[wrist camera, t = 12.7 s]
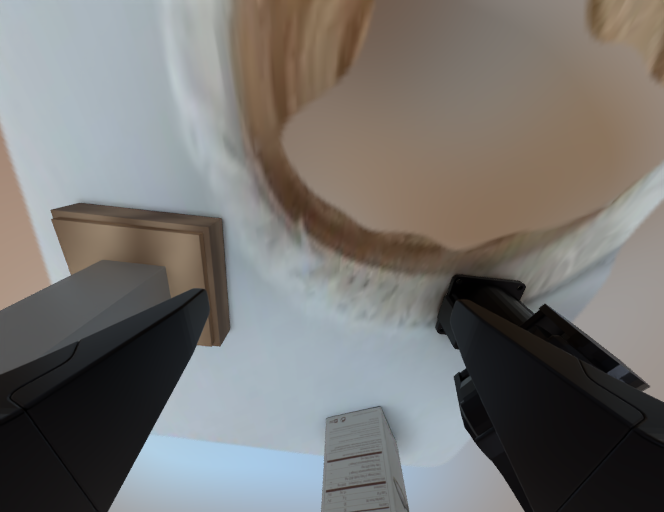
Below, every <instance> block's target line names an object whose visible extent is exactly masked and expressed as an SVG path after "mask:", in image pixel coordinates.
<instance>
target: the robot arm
mask: <svg viewBox="0 0 664 512" xmlns="http://www.w3.org/2000/svg"><path fill="white" fill-rule="evenodd" d="M458 279H460V281H459V282H456V281H457V280H458ZM518 286H520V287H519V288H517V287H518ZM525 288H526V286H525V284H523V283H522V282H520V281H513V280H504V279H495V278H486V277H476V276H467V275H455V276H454V277H453V278H452V280H451V283H450V286H449V289H448V292H447V295H446V296H445V297H444V299H443V302H442V305H441V308H440V311H439V314H438V322H437V324H436V330H437V332H438V333H439V334H445V335H447V336H448V338H449V340H450V342H451V344H452V345H453V347H454V348H455V349H458V350H459V351H460V353H461V356H462V359H463V361H464V364H465V366H466V369H465V370H463V371H462V372H461V373H460V372H458V373H457V374H456V375H455V376H454V380H455V386H456V391H457V396H458V401H459V406H460V411H461V416H462V419H463V423H464V427H465V429H466V430H467V431H468V433H469V434H470V436H471V437H472V439H473V440H474V442H475V443H476V444H477V446H478V447H479V448H480V449H481V451H482V452H483V453H484V454H485V455H486V456H487V457H488V458H489V459H490V460H491V461H492V462H493V463H494V465H495V466H496V467H497V469H498V470H499V471H500V473H501V474H502V475H503V477H504V479H505V480H506V482H507V483H508V485H509V486H510V488H511V490H512V491H513V493H514V494H515V496H516V498H517V500H518V501H519V503H520V505H521V506H522V508H523V509H524V511H525V512H664V402H662V401H660V400H658V399H656V398H654V397H652V396H650V395H648V394H646V393H644V392H642V391H644V390H646V389H647V388H649V387H650V386H649V385H648V384H647V383H646V382H645V381H644V380H642V379H641V378H640V377H639V376H638V375H637V374H635V373H634V372H633V371H632V370H631V369H630V368H628V367H627V366H626V365H625V364H624V363H623V362H621V361H620V360H619V359H618V358H616V357H615V356H614V355H613V354H611V353H610V352H609V351H608V350H606V349H605V348H604V347H602V346H601V345H600V344H599V343H597V342H596V341H595V340H593V339H592V338H591V337H589V336H588V335H587V334H585V333H584V332H583V331H581V330H580V329H579V328H578V327H576V326H575V325H574V324H572V323H571V322H569V321H568V320H567V319H565V318H564V317H563V316H561V315H560V314H559V313H557V312H556V311H555V310H553V309H552V308H551V307H549V306H548V305H546V304H544V305H543V306H541V307H540V308H539V309H540V310H539V311H538V312H536V313H535V314H534V313H533V312H532V311H531V310H530V309H528V308H527V307H526V306H525V305H524V304H523V303H522V302H521V301H520V299H521V297H522V295H523V292H524V290H525ZM209 313H210V306H209V300H208V295H207V291H206V290H205V289H201V288H193V289H190V290H188V291H186V292H184V293H181V294H179V295H177V296H175V297H173V298H171V299H168V300H166V301H164V302H162V303H160V304H157V305H155V306H153V307H151V308H149V309H146V310H144V311H142V312H140V313H138V314H135V315H133V316H131V317H129V318H127V319H124V320H122V321H120V322H118V323H116V324H113V325H111V326H109V327H107V328H105V329H103V330H100V331H98V332H96V333H94V334H92V335H89V336H87V337H85V338H83V339H81V340H80V341H76V342H74V343H72V344H69V345H67V346H65V347H63V348H61V349H58V350H56V351H54V352H52V353H49V354H47V355H45V356H43V357H40V358H38V359H36V360H33V361H31V362H29V363H26V364H24V365H21V366H19V367H17V368H14V369H12V370H10V371H7V372H5V373H2V374H0V512H108V510H109V508H110V507H111V505H112V503H113V501H114V499H115V497H116V496H117V494H118V492H119V490H120V488H121V486H122V484H123V483H124V481H125V479H126V477H127V475H128V473H129V471H130V469H131V468H132V466H133V464H134V462H135V460H136V458H137V457H138V455H139V453H140V451H141V449H142V447H143V445H144V444H145V442H146V440H147V438H148V436H149V434H150V432H151V431H152V429H153V427H154V425H155V423H156V421H157V420H158V418H159V416H160V414H161V412H162V410H163V408H164V407H165V405H166V403H167V401H168V399H169V397H170V395H171V394H172V392H173V390H174V388H175V386H176V384H177V382H178V381H179V379H180V377H181V375H182V373H183V371H184V369H185V368H186V366H187V364H188V362H189V360H190V358H191V356H192V354H193V352H194V350H195V348H196V346H197V343H198V341H199V338H200V336H201V333H202V331H203V328H204V326H205V323H206V321H207V318H208V316H209ZM441 328H443V329H441Z"/></svg>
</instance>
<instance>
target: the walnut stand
mask: <svg viewBox="0 0 664 512" xmlns="http://www.w3.org/2000/svg"><path fill="white" fill-rule="evenodd" d="M51 213H52V216H53V219H51V220H52V223H53V226H54V229H55V231H56V234H57V237H58V240H59V243H60V245H61V248H62V251H63V254H64V257H65V259H66V262H67V265H68V268H69V271H70V273H71V275H73V274H75V273H77V272H79V271H81V270H83V269H85V268H87V267H89V266H91V265H93V264H95V263H97V262H99V261H101V260H110V261H119V262H128V263H138V264H147V265H156V266H165V267H166V273H167V278H168V284H169V290H170V295H171V298H173V297H175V296H177V295H179V294H181V293H184V292H186V291H188V290H190V289H193V288H201V289H205V290H206V291H207V295H208V300H209V306H210V313H209V316H208V318H207V321H206V323H205V326H204V328H203V331H202V333H201V336H200V338H199V341H198V343H197V345H201V346H211V347H212V346H221V344H222V343H223V341H224V339H225V337H226V336H227V334H228V332H229V331H230V322H229V309H228V295H227V282H226V268H225V255H224V241H223V228H222V219H221V218H212V217H203V216H194V215H185V214H176V213H166V212H157V211H148V210H139V209H130V208H121V207H112V206H103V205H94V204H85V203H77V204H73V205H69V206H65V207H61V208H56V209H52V210H51Z"/></svg>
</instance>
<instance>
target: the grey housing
mask: <svg viewBox="0 0 664 512" xmlns="http://www.w3.org/2000/svg"><path fill="white" fill-rule="evenodd" d="M168 299H171V295H170V290H169V284H168V278H167V273H166V267H165V266H156V265H147V264H138V263H128V262H119V261H110V260H101V261H99V262H97V263H95V264H93V265H91V266H89V267H87V268H85V269H83V270H81V271H79V272H77V273H75V274H73V275H71V276H69V277H67V278H65V279H63V280H61V281H59V282H57V283H55V284H53V285H51V286H49V287H47V288H45V289H43V290H41V291H39V292H37V293H35V294H33V295H31V296H29V297H27V298H25V299H23V300H21V301H19V302H17V303H15V304H13V305H11V306H9V307H7V308H5V309H3V310H1V311H0V374H2V373H5V372H7V371H10V370H12V369H14V368H17V367H19V366H21V365H24V364H26V363H29V362H31V361H33V360H36V359H38V358H40V357H43V356H45V355H47V354H49V353H52V352H54V351H56V350H58V349H61V348H63V347H65V346H67V345H69V344H72V343H74V342H76V341H80V340H81V339H83V338H85V337H87V336H89V335H92V334H94V333H96V332H98V331H100V330H103V329H105V328H107V327H109V326H111V325H113V324H116V323H118V322H120V321H122V320H124V319H127V318H129V317H131V316H133V315H135V314H138V313H140V312H142V311H144V310H146V309H149V308H151V307H153V306H155V305H157V304H160V303H162V302H164V301H166V300H168Z"/></svg>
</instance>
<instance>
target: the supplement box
mask: <svg viewBox="0 0 664 512" xmlns="http://www.w3.org/2000/svg"><path fill="white" fill-rule="evenodd" d="M321 512H409V507H408V502H407V496H406V491H405V485H404V480H403V475H402V469H401V463H400V458H399V453H398V447H397V443H396V440H395V438H394V436H393V434H392V432H391V430H390V428H389V426H388V424H387V421H386V419H385V416H384V414H383V411H382V408H381V407H376V408H370V409H366V410H361V411H356V412H351V413H347V414H342V415H338V416H333V417H329V418H327V419H326V433H325V453H324V472H323V490H322V506H321Z"/></svg>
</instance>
